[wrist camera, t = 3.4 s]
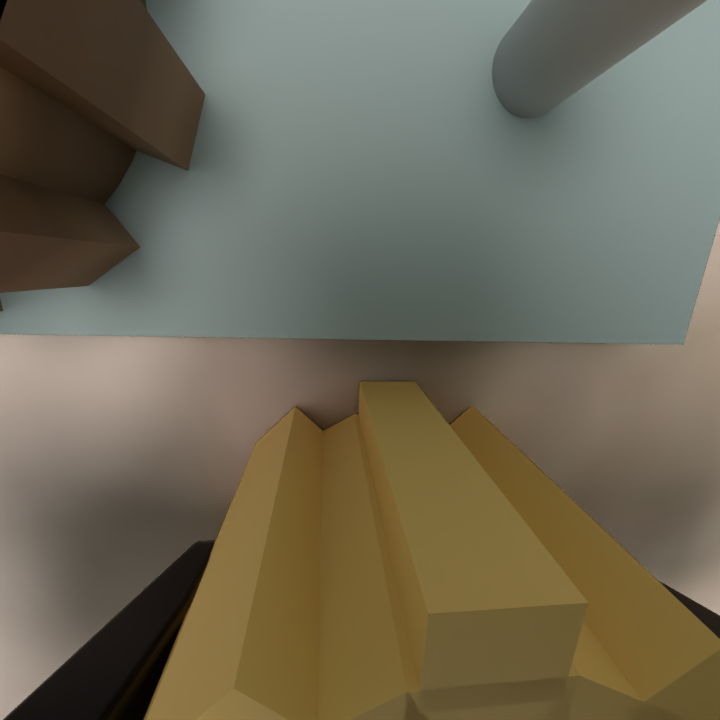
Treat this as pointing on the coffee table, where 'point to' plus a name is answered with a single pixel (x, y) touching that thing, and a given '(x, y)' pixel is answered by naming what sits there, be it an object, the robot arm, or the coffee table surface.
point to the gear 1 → (81, 132)
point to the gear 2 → (424, 588)
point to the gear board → (421, 176)
